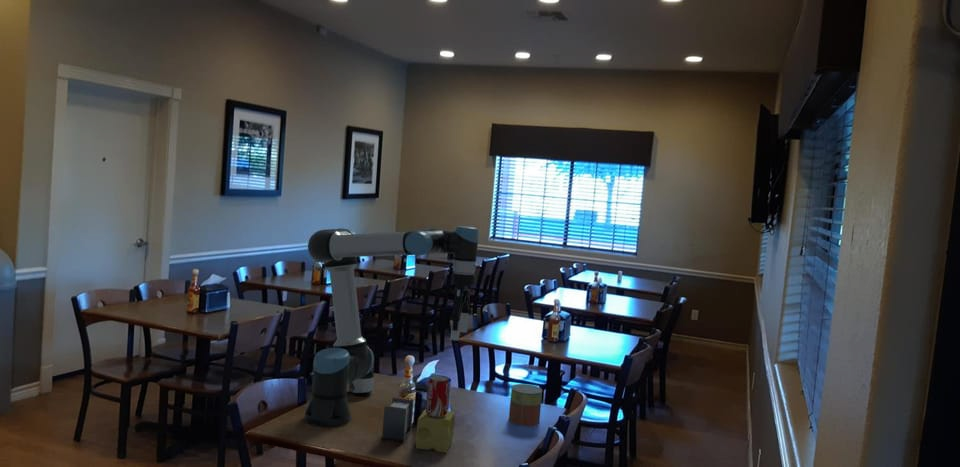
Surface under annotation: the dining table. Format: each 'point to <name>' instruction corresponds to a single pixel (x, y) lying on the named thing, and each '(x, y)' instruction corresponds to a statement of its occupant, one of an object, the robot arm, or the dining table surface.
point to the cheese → (435, 432)
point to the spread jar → (362, 385)
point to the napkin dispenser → (397, 420)
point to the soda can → (437, 396)
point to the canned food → (525, 405)
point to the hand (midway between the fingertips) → (458, 335)
